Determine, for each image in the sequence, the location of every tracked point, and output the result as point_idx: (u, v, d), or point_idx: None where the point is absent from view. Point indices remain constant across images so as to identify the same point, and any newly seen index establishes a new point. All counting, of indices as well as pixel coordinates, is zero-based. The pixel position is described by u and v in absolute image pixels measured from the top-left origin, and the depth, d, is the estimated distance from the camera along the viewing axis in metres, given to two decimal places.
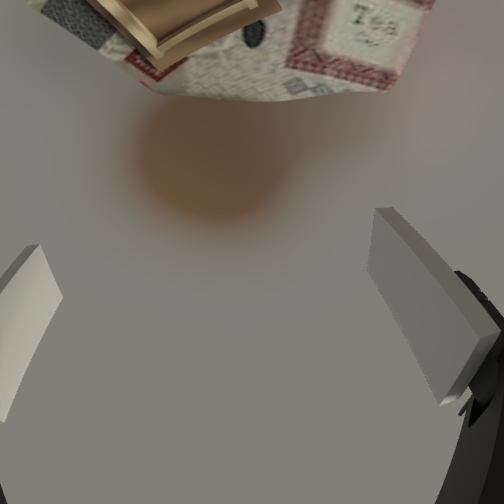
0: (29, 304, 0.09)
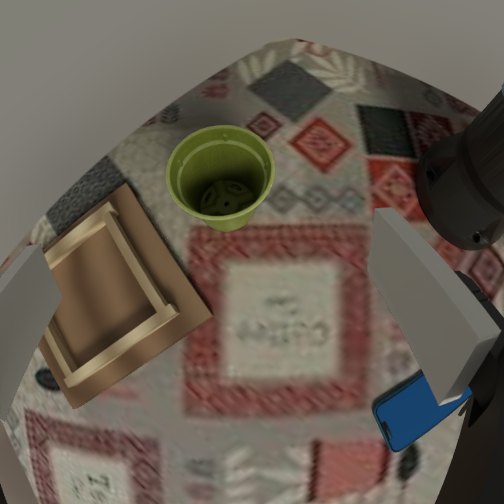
0: (29, 304, 0.09)
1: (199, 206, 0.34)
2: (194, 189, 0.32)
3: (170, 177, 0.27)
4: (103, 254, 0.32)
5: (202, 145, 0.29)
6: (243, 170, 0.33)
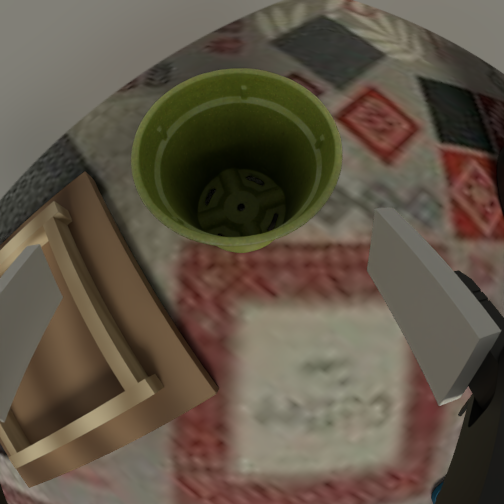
0: (29, 304, 0.09)
1: (196, 210, 0.21)
2: (188, 181, 0.19)
3: (139, 157, 0.13)
4: None
5: (203, 104, 0.16)
6: (271, 153, 0.19)
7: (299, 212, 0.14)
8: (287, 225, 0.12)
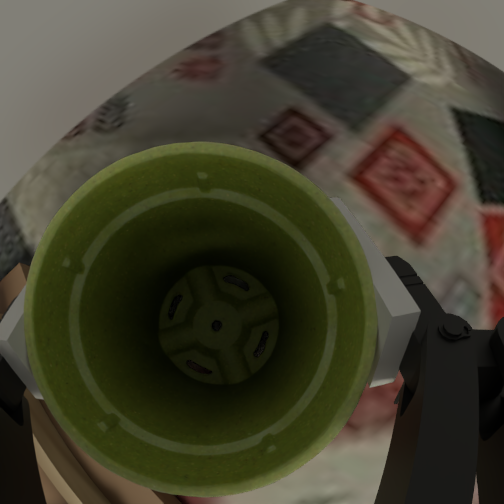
0: None
1: (156, 328, 0.15)
2: (137, 303, 0.13)
3: (36, 329, 0.07)
4: None
5: (137, 203, 0.10)
6: (256, 257, 0.13)
7: (294, 411, 0.08)
8: (271, 473, 0.06)
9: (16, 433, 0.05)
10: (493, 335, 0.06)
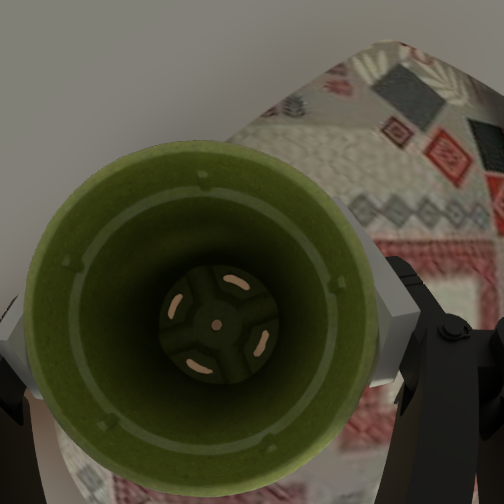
0: None
1: (156, 328, 0.15)
2: (137, 303, 0.13)
3: (35, 329, 0.07)
4: None
5: (137, 202, 0.10)
6: (257, 256, 0.13)
7: (295, 410, 0.08)
8: (271, 473, 0.06)
9: (16, 433, 0.05)
10: (493, 335, 0.06)
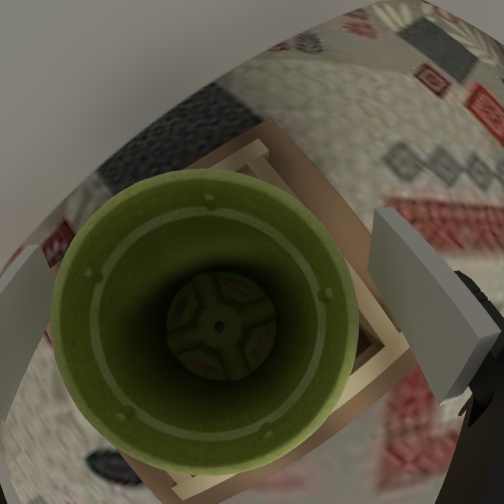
0: (29, 304, 0.09)
1: (164, 329, 0.16)
2: (147, 307, 0.14)
3: (62, 333, 0.09)
4: None
5: (150, 220, 0.11)
6: (256, 265, 0.15)
7: (289, 402, 0.10)
8: (268, 454, 0.08)
9: None
10: None
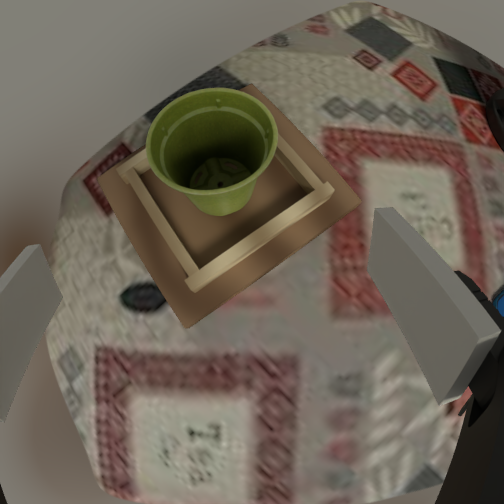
0: (29, 304, 0.09)
1: (188, 186, 0.29)
2: (182, 165, 0.27)
3: (151, 146, 0.21)
4: None
5: (191, 112, 0.24)
6: (240, 144, 0.27)
7: None
8: (240, 182, 0.20)
9: None
10: None
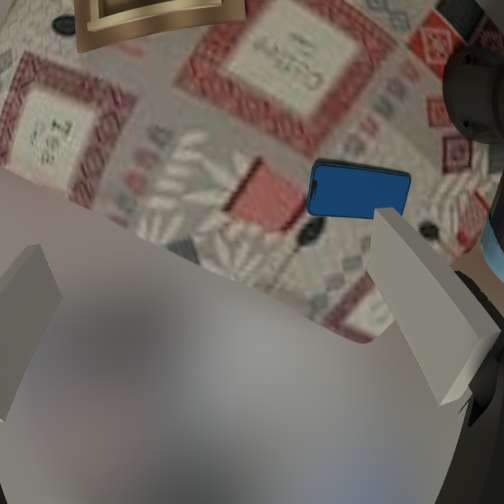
0: (29, 304, 0.09)
1: None
2: None
3: None
4: None
5: None
6: None
7: None
8: None
9: None
10: None
